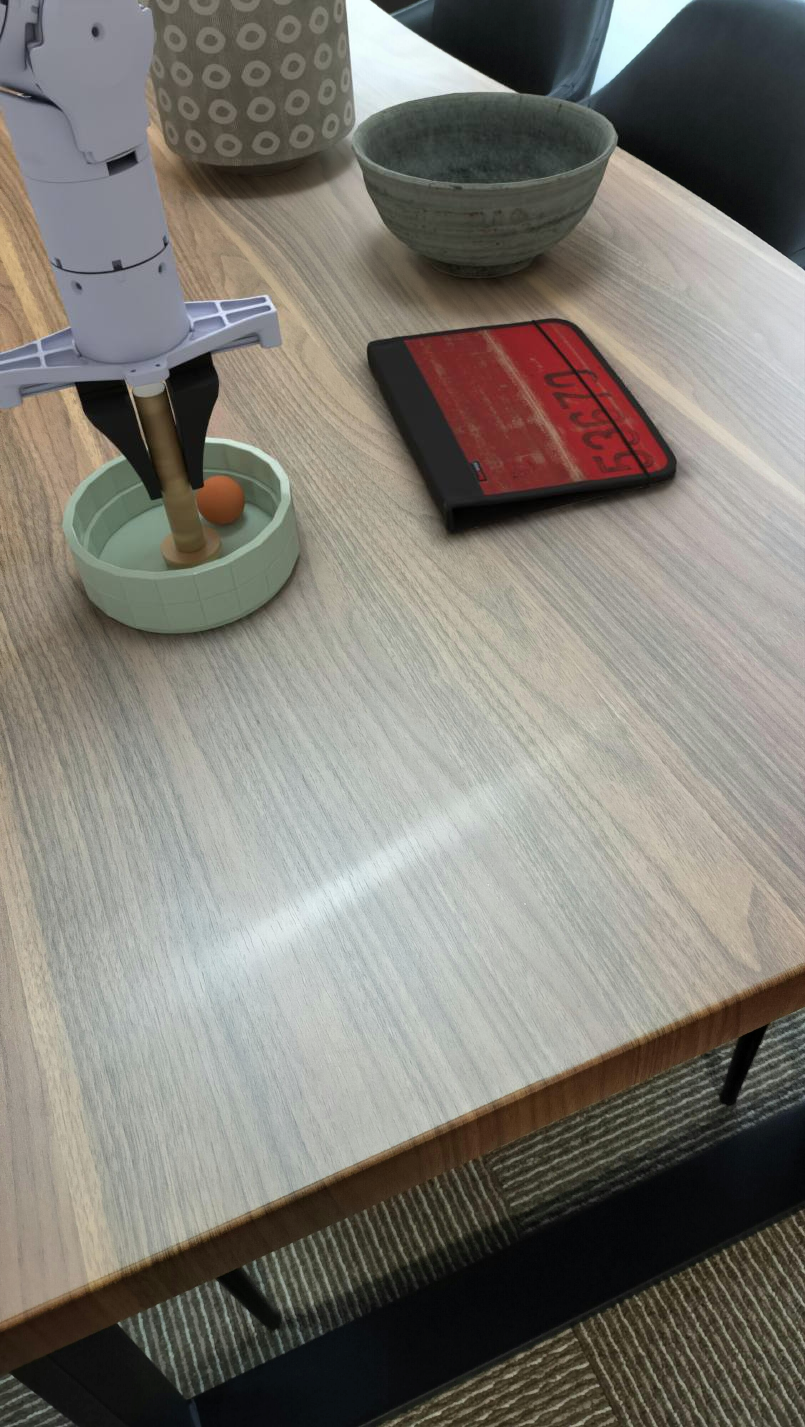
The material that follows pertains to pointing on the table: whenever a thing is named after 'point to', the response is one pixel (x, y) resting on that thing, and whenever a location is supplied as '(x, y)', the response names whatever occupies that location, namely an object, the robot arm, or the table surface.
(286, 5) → the planter
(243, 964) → the table surface
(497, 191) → the bowl
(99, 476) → the mixing bowl
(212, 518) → the ball
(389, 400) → the notebook
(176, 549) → the stick
